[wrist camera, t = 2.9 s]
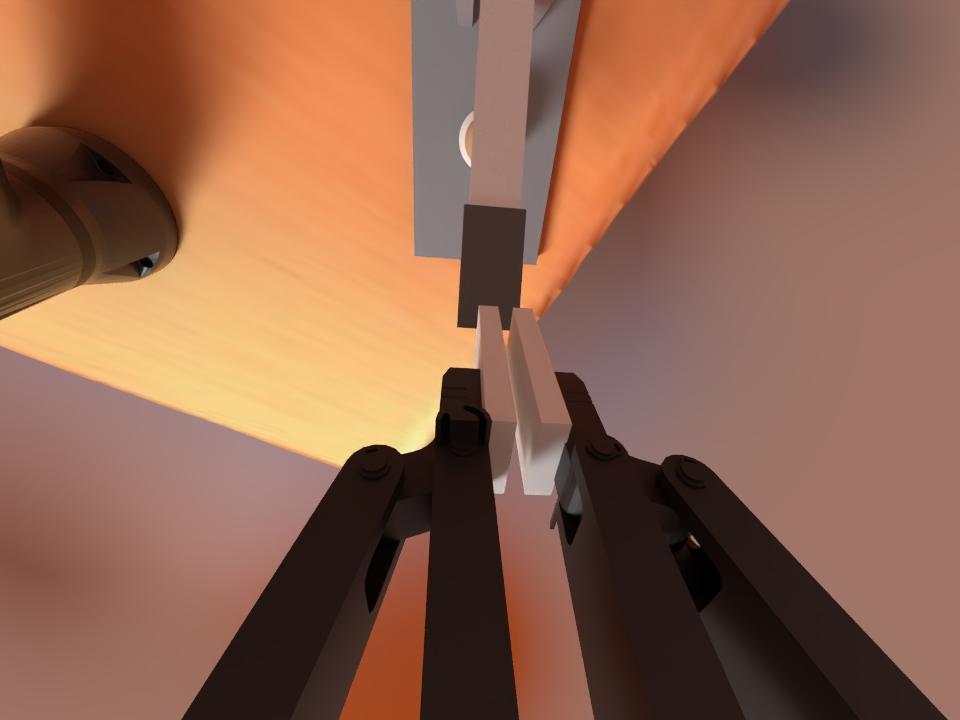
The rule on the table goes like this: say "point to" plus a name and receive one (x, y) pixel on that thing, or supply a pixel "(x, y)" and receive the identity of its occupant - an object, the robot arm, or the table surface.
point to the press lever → (497, 164)
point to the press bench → (458, 99)
